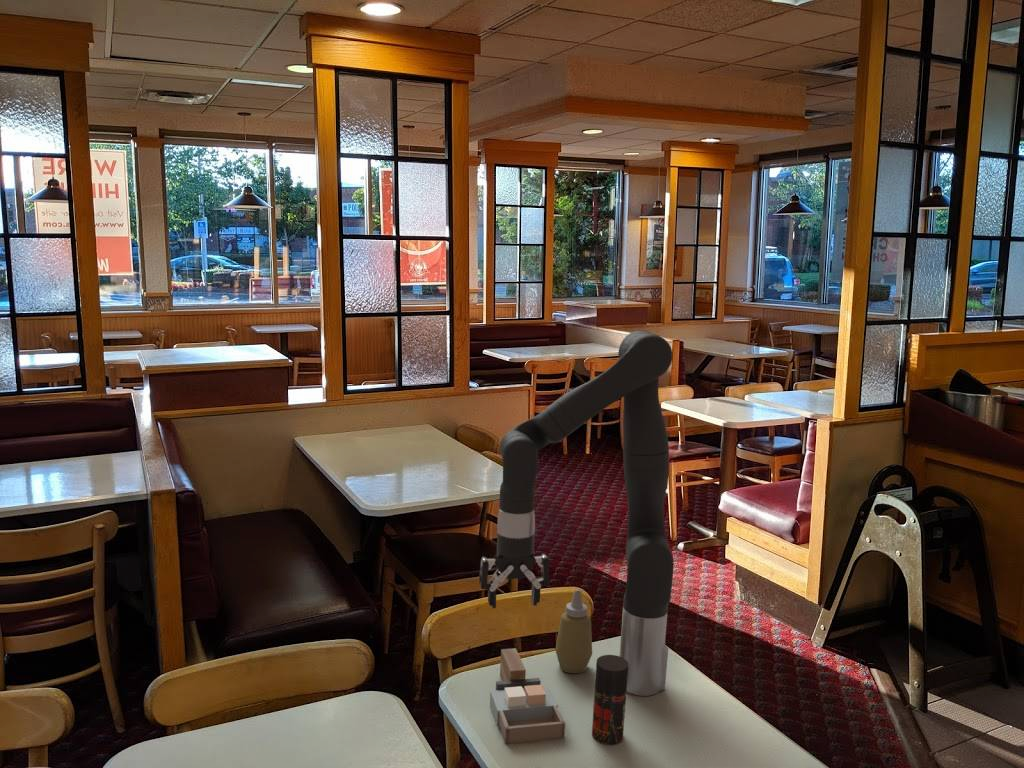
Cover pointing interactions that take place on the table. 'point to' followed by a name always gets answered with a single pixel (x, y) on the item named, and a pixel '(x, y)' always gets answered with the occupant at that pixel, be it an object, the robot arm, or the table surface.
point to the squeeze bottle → (574, 637)
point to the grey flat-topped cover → (521, 707)
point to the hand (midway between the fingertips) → (513, 605)
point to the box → (532, 728)
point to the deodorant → (609, 699)
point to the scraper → (513, 671)
